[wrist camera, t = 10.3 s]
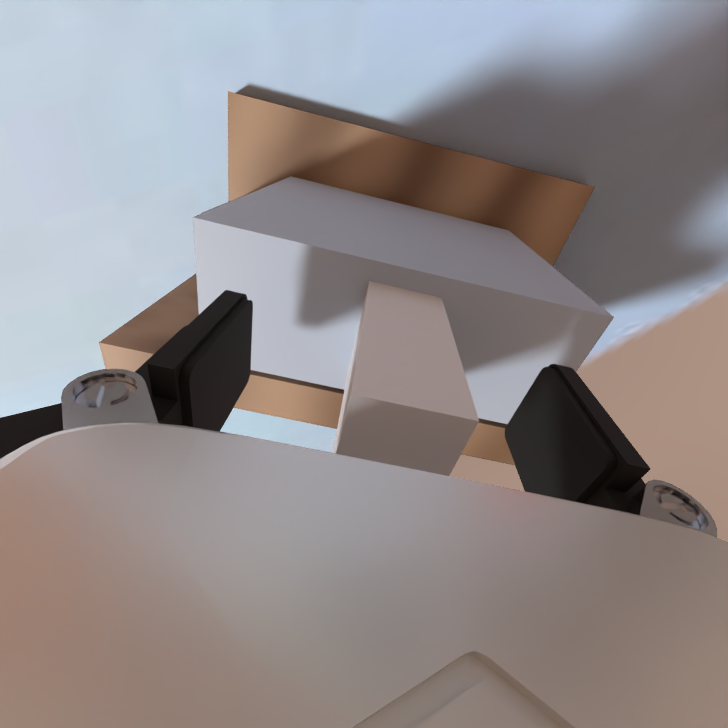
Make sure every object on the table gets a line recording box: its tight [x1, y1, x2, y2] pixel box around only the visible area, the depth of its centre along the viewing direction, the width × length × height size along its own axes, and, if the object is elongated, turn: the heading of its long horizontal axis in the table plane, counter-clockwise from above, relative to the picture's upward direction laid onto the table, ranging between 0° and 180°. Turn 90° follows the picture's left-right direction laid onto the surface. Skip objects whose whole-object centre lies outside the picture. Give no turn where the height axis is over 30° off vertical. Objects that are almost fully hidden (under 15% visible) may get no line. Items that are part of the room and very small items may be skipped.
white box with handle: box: [193, 176, 614, 476], centre depth 15 cm, size 14×5×18 cm, turn 78°
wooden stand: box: [99, 91, 595, 465], centre depth 18 cm, size 22×11×14 cm, turn 78°
